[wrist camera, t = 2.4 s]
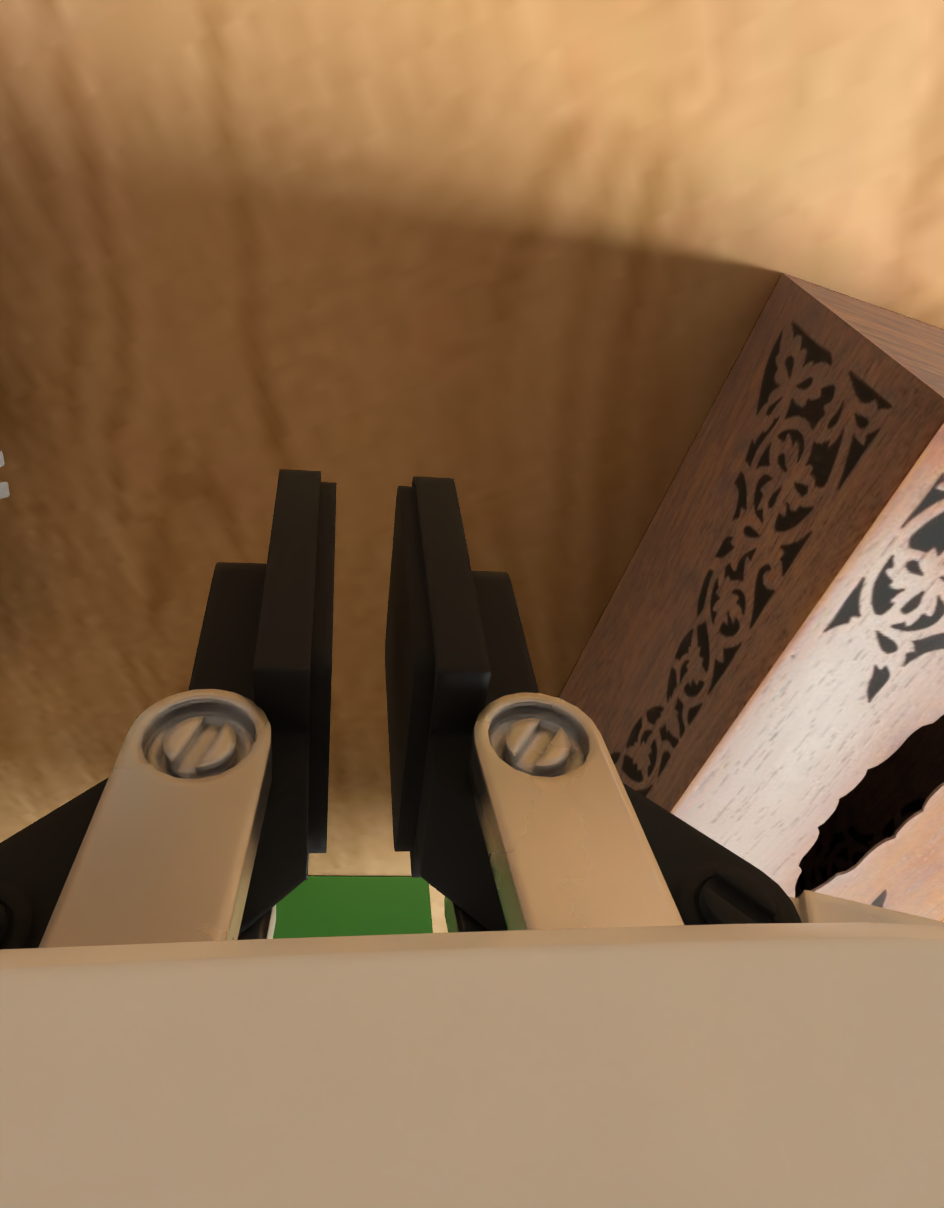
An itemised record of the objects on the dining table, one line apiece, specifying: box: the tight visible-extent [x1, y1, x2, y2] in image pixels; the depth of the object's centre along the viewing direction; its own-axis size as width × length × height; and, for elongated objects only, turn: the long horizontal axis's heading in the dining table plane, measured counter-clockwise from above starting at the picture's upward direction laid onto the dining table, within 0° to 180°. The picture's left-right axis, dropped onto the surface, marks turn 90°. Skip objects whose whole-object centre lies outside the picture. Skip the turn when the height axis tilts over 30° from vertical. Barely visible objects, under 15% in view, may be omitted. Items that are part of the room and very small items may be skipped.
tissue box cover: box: [559, 273, 944, 922], centre depth 33 cm, size 26×14×10 cm, turn 161°
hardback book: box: [273, 876, 433, 939], centre depth 36 cm, size 18×7×24 cm, turn 80°
